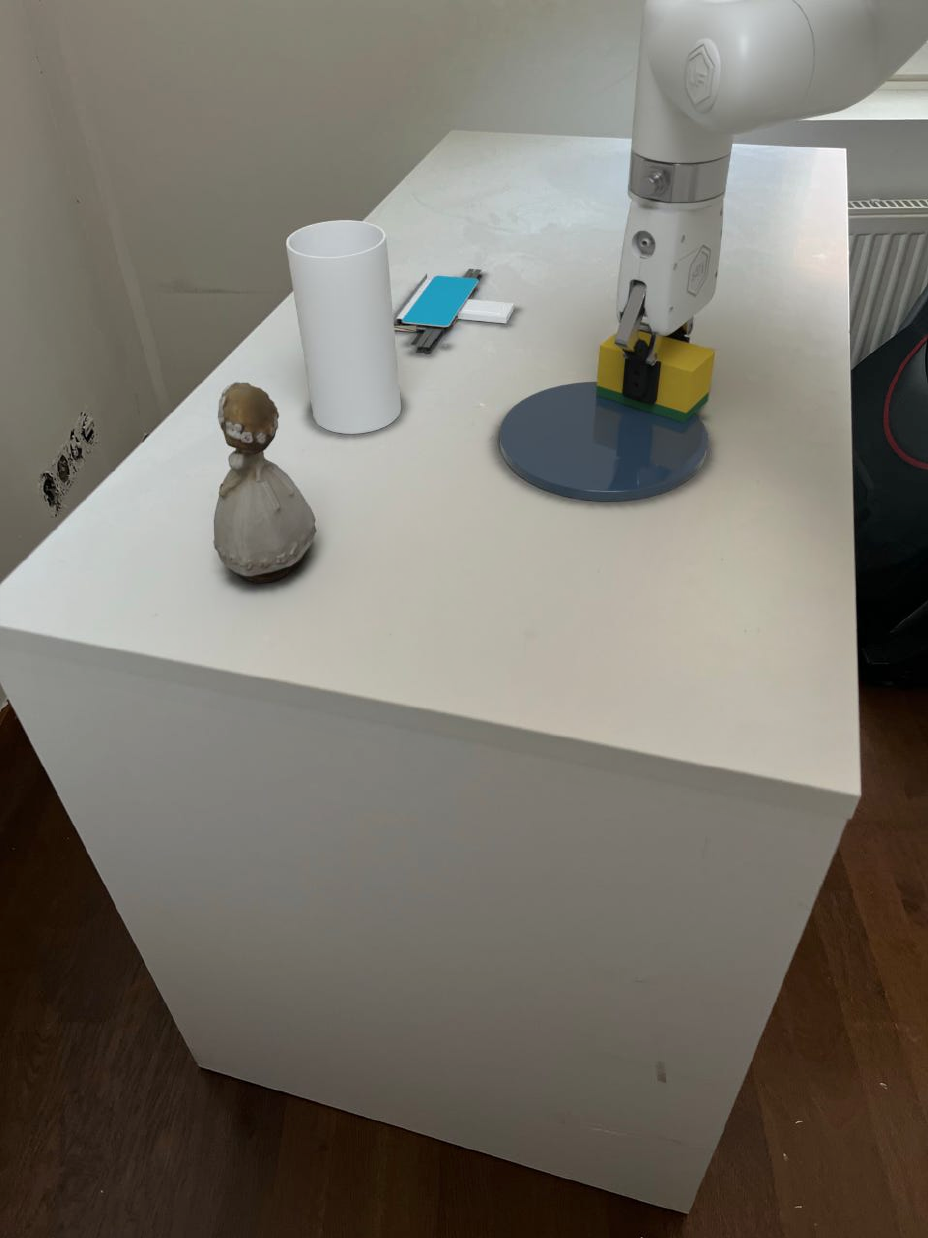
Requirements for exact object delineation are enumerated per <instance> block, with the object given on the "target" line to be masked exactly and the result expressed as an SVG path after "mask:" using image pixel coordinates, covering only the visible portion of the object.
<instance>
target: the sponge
mask: <svg viewBox="0 0 928 1238" xmlns="http://www.w3.org/2000/svg"><path fill="white" fill-rule="evenodd" d="M616 333H617V331H616V332H615V333H613V334H612V335H611V336H610V337H608V338H607V339H605V341H603V342H601V344H599V351H598V363H597V365H598V366H597V377H596V379H597V380H596V382H597V391H596V395H597V396H600V397H603V398H606V399H609V400H613V401H616V402H619V403H622V404H625V405H629V406H632V407H635V408H638V409H641V410H644V411H648V412H651V413H654V414H657V415H660V416H664V417H667V418H670V419H673V420H676V421H679V422H683V423H686V422H687V421H688V420H689V419H690V418H691V417H692V416H693V415H694V414H695V413H696V414H697V412H698V411H699V410H700V409H702V408H703V406H705V405H706V403H707V402H708V401H709V397H710V396H709V395H710V389H711V383H712V377H713V371H714V365H715V358H716V353H717V351H716V350H715V349H713V348H710V347H709V348H708V347H705V346H701V345H697V344H693V343H690V342H689V343H687V342H683V341H679V340H675V339H672V338H668V337H664V336H662V340H661V345H660V349H659V354H658V358H657V361H660V362H661V370H660V378H659V386H658V394H657V401H656V402H655V403H654V404H653V405H649V404H646V403H642V402H639V401H636V400H633V399H629V398H626V397H624V396H623V395H622V387H623V376H624V365H625V358H624V357H623V350H622V349H621V348H620V347H619V346H617V345H616V344H615V343H614V339H615V336H616ZM651 335H652V334H648V333H645V332H641V331H639V333H638V337H639V338H640V339H641V340H644V341H645V342H646V343H647V345H648V346H649V343H650V338H651Z"/></svg>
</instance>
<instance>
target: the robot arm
mask: <svg viewBox="0 0 928 1238" xmlns="http://www.w3.org/2000/svg"><path fill="white" fill-rule="evenodd" d="M640 23H641V24H640V36H639V39H640V40H639V47H638V48H639V49H638V60H637V73H636V84H635V85H636V86H635V93H634V95H635V96H634V108H633V109H634V110H633V119H632V132H631V133H632V134H631V143H630V146H631V147H630V156H629V168H628V181H627V182H628V183H627V192H626V193H627V197H628V198H629V199H630V200H631V201H630V204H629V210H628V214H627V219H626V225H625V229H624V234H623V235H624V236H623V242H622V250H621V255H620V263H619V270H618V277H617V278H618V279H617V287H616V289H617V290H616V305H615V306H616V307H615V308H616V309H615V311H616V312H615V313H616V319H617V322H618V328H617V330H616V332H617V333H616V332H615V333H616V336H615V339H614V343H615V344H616V345H617V346H619V347H620V348H621V349H622V350H623V357H624V358H625V365H624V376H623V387H622V395H623V396H624V397H626V398H629V399H633V400H636V401H639V402H642V403H646V404H649V405H653V404H654V403H655V402H656V401H657V394H658V386H659V378H660V370H661V362H660V361H657V358H658V354H659V349H660V345H661V340H662V336H664V337H668V338H672V339H675V340H679V341H683V342H687V343H690V339H691V337H690V335H691V334H692V332H693V328H694V320H695V319H694V317H695V316H696V315H697V314H698V313H699V312H700V311H701V310H702V309H704V308H705V307H706V306H707V305H708V304H710V302H711V301H712V300H713V298H714V295H715V294H716V290H717V283H718V275H719V267H720V257H721V249H722V248H721V247H722V237H723V228H724V227H723V226H724V199H725V196H726V189H727V182H728V177H729V169H730V162H731V156H732V149H733V144H734V137H735V135H740V134H746V133H751V132H757V131H760V130H765V129H769V128H774V127H778V126H781V125H784V124H788V123H789V124H790V123H794V122H798V121H803V120H807V119H812V118H816V117H822V116H825V115H826V116H827V115H830V114H834V113H838V112H841V111H844V110H846V109H849V108H850V107H853V106H855V105H857V104H858V103H860V102H861V101H863V100H865V99H866V98H868V97H869V96H870V95H872V94H873V93H874V92H876V91H877V90H878V89H879V88H881V87H882V86H883V85H884V84H885V83H886V82H887V81H888V80H890V79H891V78H892V77H893V76H894V75H895V74H896V73H897V72H898V71H899V70H900V69H902V67H903V66H904V65H905V64H906V63H908V61H909V60H911V59H912V58H913V57H914V56H915V55H916V53H918V51H920V50H921V49H922V47H924V45H925V44H926V43H928V0H645V2H644V5H643V9H642V13H641V22H640ZM643 318H646V319H647V322H646V321H644V320H643ZM639 331H641V332H645V333H648V334H652V335H651V338H650V343H649V346H648V345H647V343H646V342H645V341H644V340H641V339H640V338H639V337H638V333H639Z"/></svg>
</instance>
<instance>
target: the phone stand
mask: <svg viewBox="0 0 928 1238" xmlns="http://www.w3.org/2000/svg"><path fill="white" fill-rule="evenodd" d="M481 272H482V269H478V268H476V269H475V268H468V269H467V271H466V272H465V273H464V274H463V276H462V277H461V276H460V277H459V276H451V275H435V276H433V278H428V273H426V274H424V276H423V277H422V279H421V280H420V281H419V283H418V284H417V285H416V286H415V287H414V289H413V290H412V291H411V293H410V294H409V295H408V297H407V298H406V299H405V301H404V302H403V303H402V305H401V306H400V307H399V308H398V310H397V311H396V312H395V314H394V315H395V317H393V320H394V332H406V333H416V336H415V338H414V339H413V341H411V344H410V345H414V346H415V347H418V348H417V349H416V351H415V352H416V353H424V354H425V353H426V354H431V353H432V352H433V350H434V349H435V347H436V346H437V345H438V343H439V342H440V340H441V339H442V337H443V336H444V335H445V333H446V332H447V331H448V328H449V327H450V326H451V325H455V323H456V322H457V321H458V320H465V321H477V322H487V323H498V324H507V323H508V321H509V319H510V318H511V316H512V314H513V313H514V311H515V302H506V301H505V302H503V301H494V300H493V301H492V300H482V299H473V295H474V294H472V293H473V291H474V289H475V288H476V287H477V285H478V283H479V282H480V280H481V278H482V277H483V274H480V273H481ZM444 347H447V345H444Z"/></svg>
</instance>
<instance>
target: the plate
mask: <svg viewBox="0 0 928 1238" xmlns="http://www.w3.org/2000/svg"><path fill="white" fill-rule="evenodd" d="M596 391H597V381H583V382H574V383H566V384H561V385H557V386H553V387H550V388H546V389H544V390H540V391H538V392H536V393H533V394H530V395H529V396H528V397H525V398H524V399H522V400H521V401H519V402H518V403H516V404H515V405H514V406H513V407H512V408H511V409H510V410H509V411H508V412H507V413H506V415H505V416H504V418H503V420H502V422H501V424H500V427H499V428H500V429H499V449H500V452H501V456H502V457H503V459H504V461H505V462H506V464H507V465H508V467H509V468H510V469H511V470H512V471H513V472H514V473H515V474H517V475H518V476H519V477H520V478H521V479H523V480H525V481H526V482H528V483H530V484H531V485H533V486H535V487H537V488H539V489H542V490H545V491H547V492H550V493H553V494H556V495H559V496H562V497H566V498H571V499H576V500H582V501H592V502H626V501H634V500H635V501H636V500H641V499H646V498H647V499H648V498H650V497H653V496H658V495H662V494H664V493H666V492H669V491H671V490H674V489H675V488H677V487H679V486H681V485H683V484H684V483H686V482H688V481H689V480H690V479H691V478H693V477H694V475H696V474H697V473H698V471H699V470H700V469H701V468H702V466H703V465H704V462H705V459H706V457H707V451H708V446H709V435H708V434H709V433H708V432H707V429H706V425H705V424H704V423H703V421H702V419H701V418H700V416H699V415H698V414H697V412H696V413H695V414H694V415H693V416H692V417H691V418H690V419H689V420H688V421H687V422H686V423H683V422H679V421H676V420H673V419H670V418H667V417H664V416H660V415H657V414H654V413H651V412H648V411H644V410H641V409H638V408H635V407H632V406H629V405H625V404H622V403H619V402H616V401H613V400H609V399H606V398H603V397H600V396H597V395H596Z"/></svg>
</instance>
